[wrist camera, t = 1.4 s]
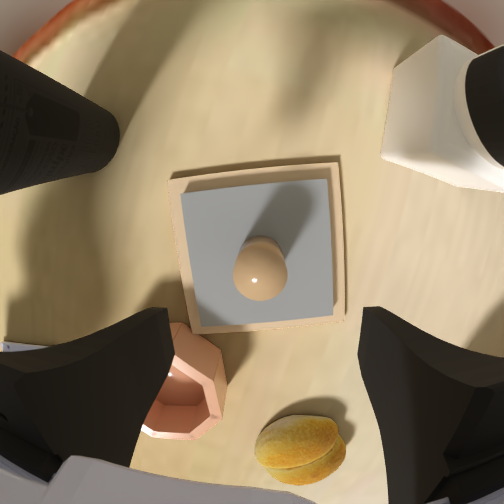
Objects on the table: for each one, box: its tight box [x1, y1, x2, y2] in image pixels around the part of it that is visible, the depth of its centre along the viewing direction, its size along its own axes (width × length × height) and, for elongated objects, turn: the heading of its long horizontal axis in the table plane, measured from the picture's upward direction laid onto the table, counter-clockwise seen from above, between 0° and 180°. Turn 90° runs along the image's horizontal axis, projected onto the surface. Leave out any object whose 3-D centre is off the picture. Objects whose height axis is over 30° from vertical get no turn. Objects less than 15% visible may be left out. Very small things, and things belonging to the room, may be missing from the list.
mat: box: [167, 162, 345, 335], centre depth 20 cm, size 11×11×1 cm
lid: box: [180, 179, 333, 327], centre depth 18 cm, size 9×9×4 cm
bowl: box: [141, 322, 228, 440], centre depth 21 cm, size 9×9×4 cm
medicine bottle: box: [380, 35, 504, 193], centre depth 12 cm, size 7×7×12 cm
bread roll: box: [255, 415, 346, 485], centre depth 23 cm, size 8×9×4 cm
